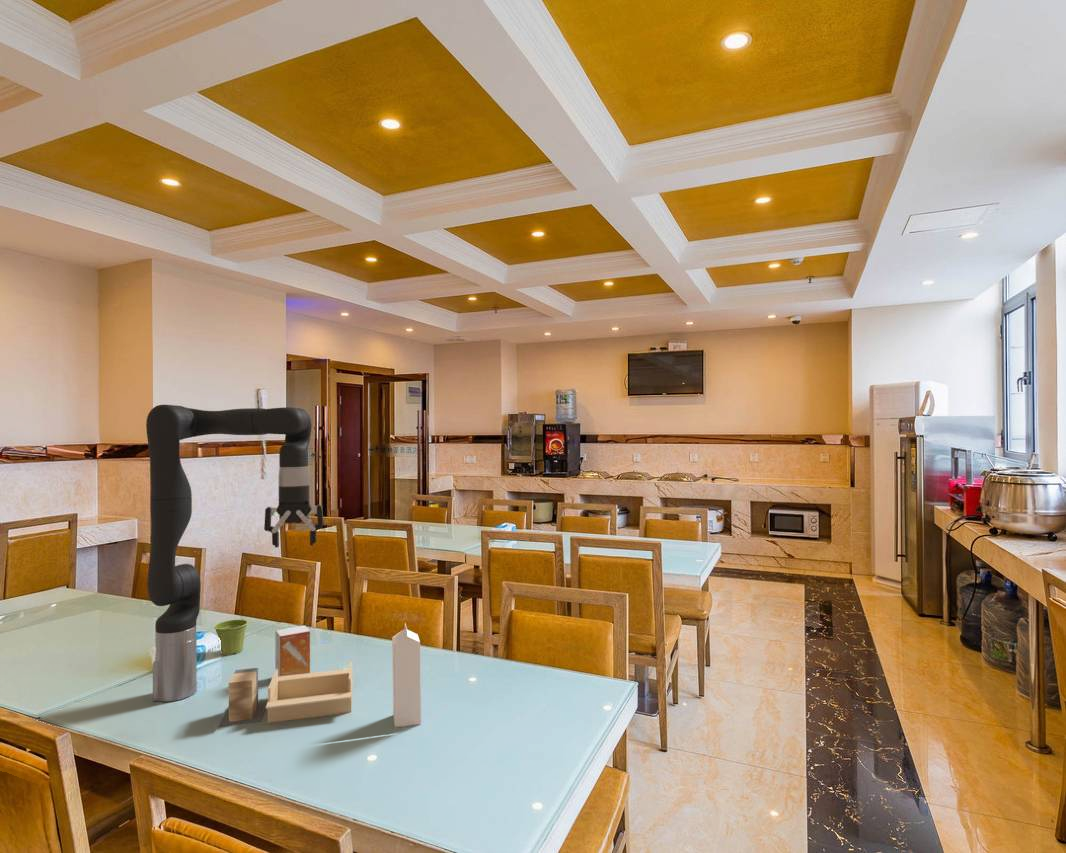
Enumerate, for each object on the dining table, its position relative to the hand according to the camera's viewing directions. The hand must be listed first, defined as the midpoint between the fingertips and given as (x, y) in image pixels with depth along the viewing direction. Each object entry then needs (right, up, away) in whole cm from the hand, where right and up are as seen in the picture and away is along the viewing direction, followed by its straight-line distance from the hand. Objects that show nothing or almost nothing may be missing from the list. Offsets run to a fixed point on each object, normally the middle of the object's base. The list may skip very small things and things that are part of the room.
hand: (294, 546), depth 158 cm
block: (-7, -37, -13) cm, 40 cm away
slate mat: (-7, -38, -13) cm, 41 cm away
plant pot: (-32, -39, +30) cm, 59 cm away
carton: (+8, -38, -9) cm, 40 cm away
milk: (+33, -38, -17) cm, 53 cm away
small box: (-4, -39, +10) cm, 40 cm away
